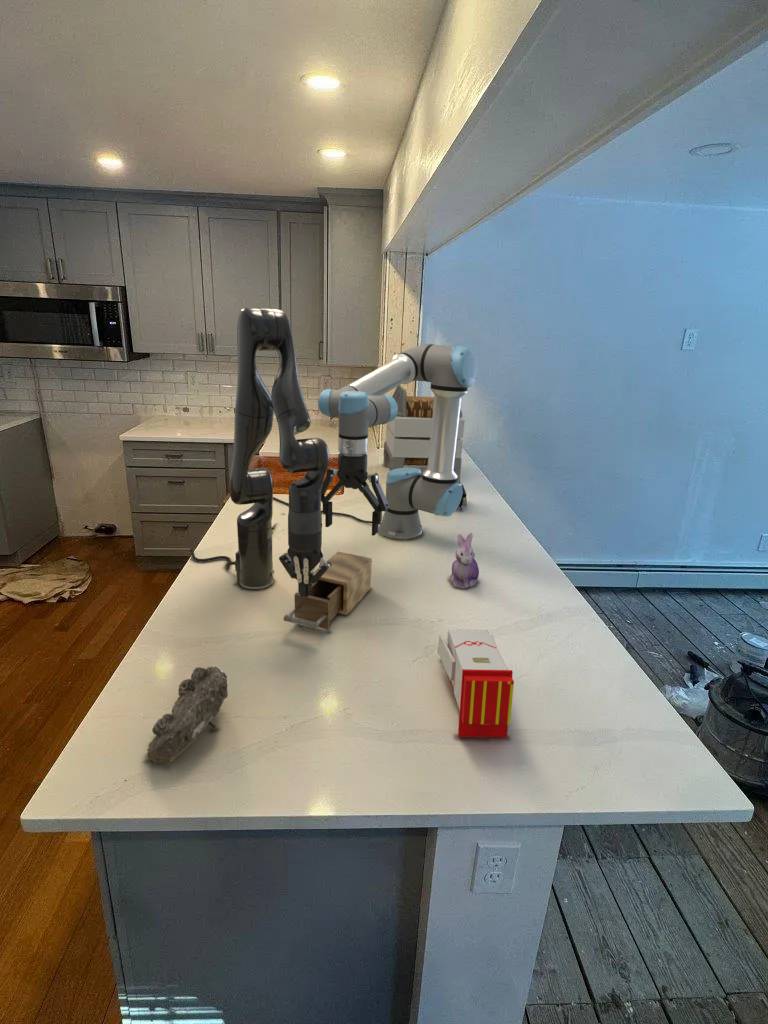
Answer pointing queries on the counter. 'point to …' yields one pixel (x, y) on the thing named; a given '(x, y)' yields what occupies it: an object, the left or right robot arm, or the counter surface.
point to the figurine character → (463, 499)
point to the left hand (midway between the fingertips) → (305, 595)
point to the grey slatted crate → (414, 433)
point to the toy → (478, 682)
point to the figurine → (464, 564)
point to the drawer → (317, 605)
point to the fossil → (189, 713)
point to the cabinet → (349, 577)
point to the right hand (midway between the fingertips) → (351, 529)
